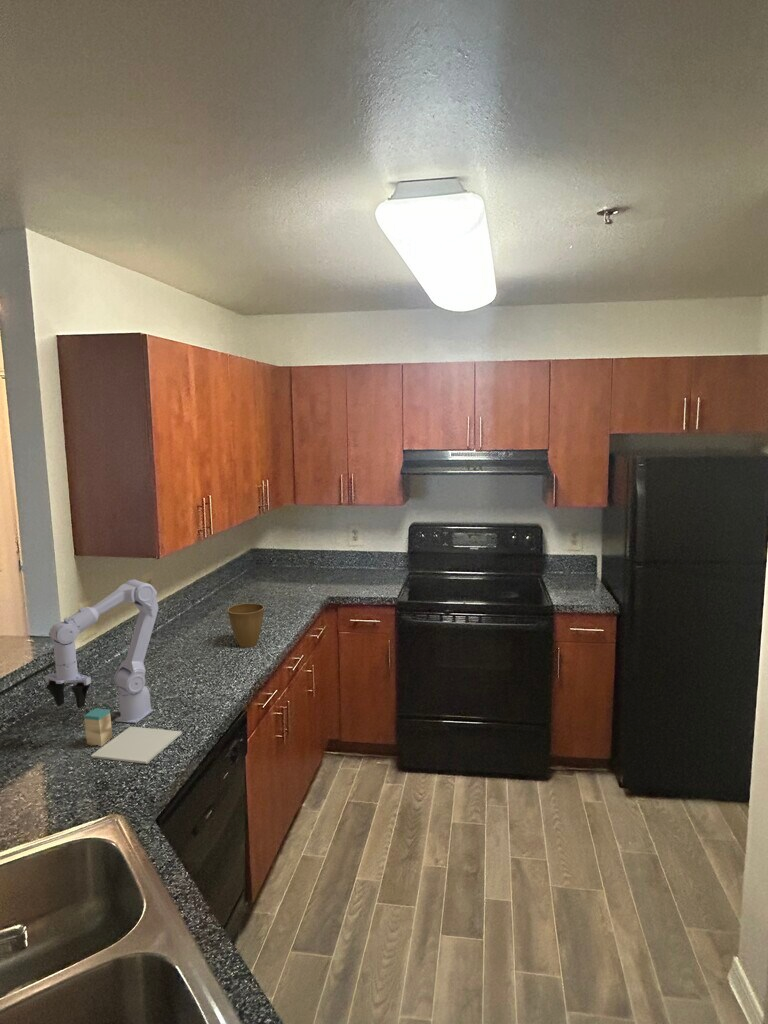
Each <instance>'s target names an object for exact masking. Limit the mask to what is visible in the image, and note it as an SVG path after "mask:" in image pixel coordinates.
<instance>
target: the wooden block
mask: <svg viewBox="0 0 768 1024" xmlns="http://www.w3.org/2000/svg"><path fill="white" fill-rule="evenodd" d="M83 717H84V718H83V719H84V727H85V738H86V739H85V740H86V745H89V746H96V745H98V746H99V747H103V746H104V745H106V744H107V743H108V742H110V741H111V740H112V739H114V737H113V728H112V719H111V710H110V709H107V708H94V709H92V710H90V711H89V712H87V713H86V714H84V715H83ZM111 738H112V739H111ZM110 739H111V740H110ZM107 741H108V742H107ZM98 746H97V747H98Z"/></svg>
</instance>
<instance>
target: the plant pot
mask: <svg viewBox="0 0 768 1024" xmlns="http://www.w3.org/2000/svg"><path fill="white" fill-rule="evenodd" d="M264 611H265V606H264V605H263V604H260V603H253V602H252V603H250V602H248V603H237V604H234V605H231V606H230V607H228V608H227V614H228V619H229V623H230V626H231V629H232V631H233V635H234V637H235V640H236V642H237V644H238V646H239V647H240V648H252V647H255V646H256V645H258V641H259V639H260V635H261V631H262V625H263V620H264V613H265V612H264Z"/></svg>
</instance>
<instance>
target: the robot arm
mask: <svg viewBox="0 0 768 1024" xmlns="http://www.w3.org/2000/svg"><path fill="white" fill-rule="evenodd" d="M157 595H158V591H157V590H156V589H155V587H153V585H152V584H150V583H147V582H143V581H140V580H138V579H129V580H127V581H126V583H123V584H121V585H120V586H119V587H118V588H117V589H116V590H114V591H112V592H111V593H110V594H108V595H107V596H105V597H104V598H103V599H102V600H100V601H99V602H97V603H96V604H95V605H93V606H85V607H83V606H81V607H79V608H78V609H77V610H78V611H77V612H75V613H74V614H71V616H69V617H67V616H66V617H65V618H63V621H58V622H55V623H54V624H52V626H51V628H50V630H49V632H48V636H49V638H50V639H51V640H52V645H53V653H54V654H53V655H54V664H55V673H49V674H46V675H45V676H44V679H45V680H44V681H45V683H48V684H46V689H47V690H48V691H49V693H51V695H52V697H53V699H54V701H55V703H56V706H57V707H60V706H62V705H64V704H65V684H76V685H73V686H72V687H71V690H72V691H73V694H74V696H75V703H76V706H77V708H78V709H81V708H83V707H84V706H85V702H86V697H87V693H88V690H89V688H90V686H91V684H92V677H91V676H89V675H88V676H87V675H83V674H82V673H79V671H78V670H79V669H78V661H77V659H78V658H77V651H76V643H75V641H76V639H77V637H78V635H79V634H81V633H83V632H84V631H86V630H87V629H88V628H91V626H93V625H94V624H96V623H97V622H98V621H99V617H100V616H102V615H104V614H105V613H107V612H108V611H110V610H112V609H113V608H115V607H117V606H119V605H120V604H122V603H134V605H135V606H136V607H137V609H138V610H139V613H138V616H137V619H136V624H135V627H134V631H133V633H132V636H131V641H130V642H129V643H130V644H129V647H128V651H127V655H126V658H125V659H124V660H123V661H122V662H121V663H120V665H119V668H118V669H117V671H116V672H115V674H114V676H113V680H114V683H115V685H116V686H118V691H117V692H118V701H119V709H120V716H118V717H117V718H115V720H114V721H115V722H118V723H128V724H129V723H131V724H138V723H139V722H140V721H142V719H145V717H147V716H148V715H150V714H151V713H152V712H154V708H152V705H151V696H150V691H149V688H148V687H147V686H146V678H145V676H146V672H147V670H146V667H145V664H144V662H145V657H146V655H147V652H148V648H149V643H150V640H151V636H152V634H153V629H154V627H155V622H156V619H157V615H158V612H159V604H158V598H157Z"/></svg>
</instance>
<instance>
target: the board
mask: <svg viewBox="0 0 768 1024" xmlns="http://www.w3.org/2000/svg"><path fill="white" fill-rule="evenodd" d="M182 734H183V731H182V730H181V731H180V730H172V729H171V730H170V729H159V728H152V727H151V728H149V727H139V726H128V727H127V728H126V729H125V730H123V731H122V732H121V733H120V734H118V735H116V736H115V737H113V738H112V739H111V740H109V741H108V742H106V743H105V744H104V745H102V746H101V747H100V748H99V749H97V750H96V751H95V752H94V753H92V754H90V758H93V759H101V760H108V761H109V760H110V761H111V760H112V761H117V762H119V761H120V762H127V763H135V764H136V763H138V764H145V765H147V764H148V763H150V762H151V760H153V759H154V758H156V756H157V755H159V753H161V752H163V750H164V749H166V748H167V747H168V746H169V745H170V744H171V743H172V742H174V741H175V740H176V739H177V738H179V737H180V736H181V735H182Z"/></svg>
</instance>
